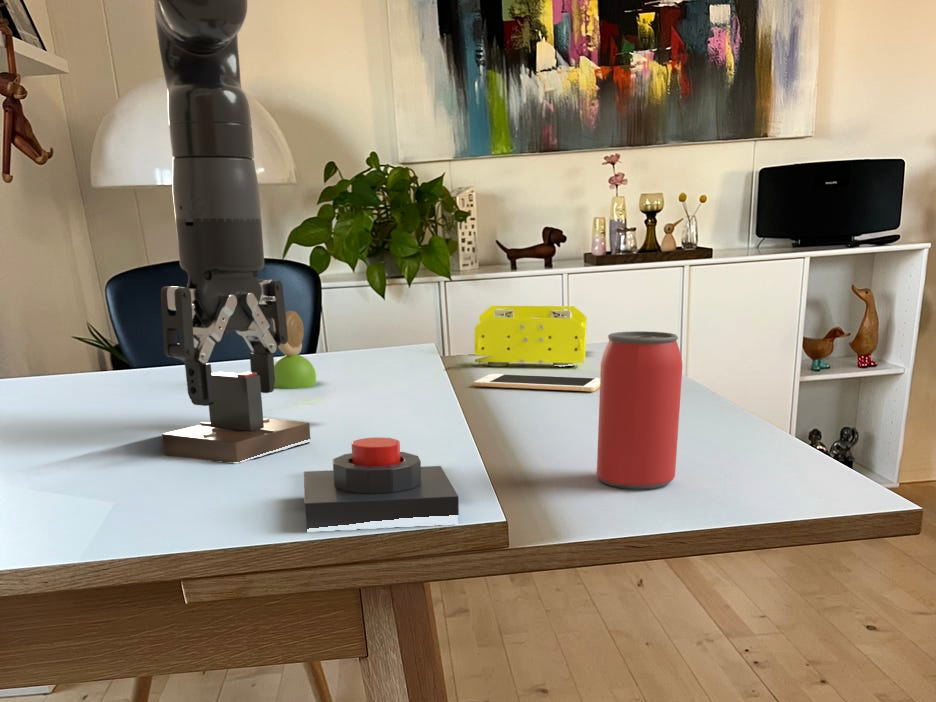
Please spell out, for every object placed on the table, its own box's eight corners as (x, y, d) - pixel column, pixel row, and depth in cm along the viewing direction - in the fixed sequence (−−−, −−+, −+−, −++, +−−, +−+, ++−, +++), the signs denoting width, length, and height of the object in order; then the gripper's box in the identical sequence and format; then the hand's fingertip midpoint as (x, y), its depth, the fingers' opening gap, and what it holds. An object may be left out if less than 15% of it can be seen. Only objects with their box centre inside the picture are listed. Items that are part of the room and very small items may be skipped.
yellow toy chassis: (585, 364, 157) (587, 305, 154) (583, 369, 152) (585, 309, 149) (480, 362, 159) (479, 305, 156) (474, 367, 154) (474, 308, 151)
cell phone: (491, 378, 143) (490, 373, 143) (606, 383, 138) (606, 378, 138) (472, 386, 136) (472, 381, 136) (593, 391, 132) (594, 386, 131)
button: (353, 471, 77) (352, 447, 76) (351, 461, 80) (350, 438, 79) (402, 469, 77) (401, 446, 77) (398, 459, 81) (397, 436, 80)
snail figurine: (260, 403, 126) (251, 299, 121) (285, 395, 131) (278, 295, 127) (301, 405, 124) (293, 300, 120) (325, 397, 130) (318, 296, 125)
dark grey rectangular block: (210, 427, 101) (204, 371, 99) (224, 423, 103) (219, 369, 101) (250, 431, 99) (245, 375, 97) (264, 428, 101) (259, 372, 99)
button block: (306, 533, 75) (302, 478, 73) (305, 498, 84) (302, 448, 82) (458, 525, 76) (458, 471, 75) (441, 492, 85) (440, 443, 84)
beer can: (620, 494, 84) (627, 341, 80) (582, 476, 90) (587, 332, 85) (689, 486, 87) (700, 337, 82) (649, 470, 92) (657, 329, 88)
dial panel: (238, 464, 95) (235, 441, 94) (163, 454, 99) (160, 431, 98) (311, 442, 104) (310, 421, 103) (240, 434, 108) (238, 413, 107)
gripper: (239, 215, 101) (253, 386, 107) (127, 214, 89) (149, 406, 95) (301, 215, 98) (311, 391, 104) (193, 214, 86) (212, 412, 92)
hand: (234, 398), depth 99 cm, fingers open, 8 cm apart
